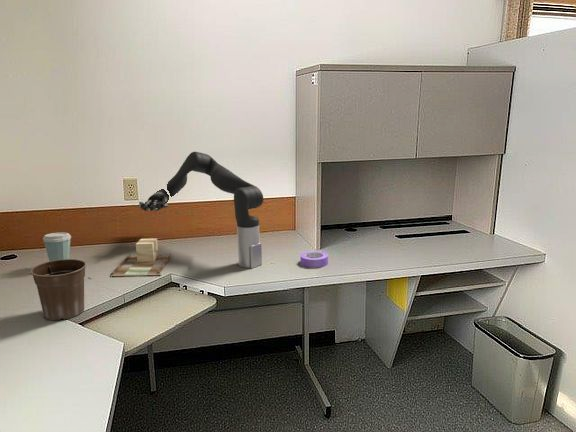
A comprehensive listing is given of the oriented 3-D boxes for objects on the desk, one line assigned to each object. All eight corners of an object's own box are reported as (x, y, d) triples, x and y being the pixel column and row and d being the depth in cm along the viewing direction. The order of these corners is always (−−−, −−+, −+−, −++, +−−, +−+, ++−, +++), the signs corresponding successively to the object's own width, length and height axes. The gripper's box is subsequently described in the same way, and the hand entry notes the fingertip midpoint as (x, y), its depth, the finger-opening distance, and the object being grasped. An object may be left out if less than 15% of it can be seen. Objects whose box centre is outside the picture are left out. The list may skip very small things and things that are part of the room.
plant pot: (102, 305, 158) (97, 260, 154) (68, 326, 143) (61, 277, 139) (62, 300, 162) (56, 257, 159) (25, 321, 147) (18, 273, 144)
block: (142, 256, 206) (140, 238, 204) (158, 255, 206) (156, 238, 204) (137, 261, 198) (135, 244, 196) (153, 261, 198) (152, 243, 197)
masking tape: (305, 269, 190) (305, 260, 189) (297, 260, 201) (297, 252, 200) (332, 266, 193) (332, 257, 192) (322, 258, 204) (322, 249, 203)
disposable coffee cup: (48, 265, 199) (43, 231, 196) (75, 262, 203) (71, 229, 200) (45, 273, 190) (40, 238, 186) (74, 269, 193) (69, 235, 190)
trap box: (129, 258, 206) (128, 254, 206) (172, 257, 207) (171, 253, 206) (111, 277, 184) (111, 272, 183) (160, 276, 184) (159, 271, 184)
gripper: (142, 193, 220) (131, 200, 203) (171, 193, 220) (163, 200, 204) (143, 209, 222) (133, 217, 205) (172, 208, 222) (164, 216, 205)
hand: (148, 208), depth 204 cm, fingers closed
